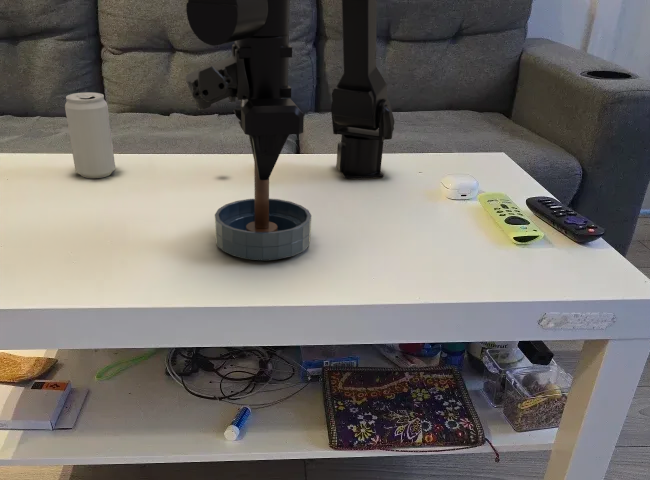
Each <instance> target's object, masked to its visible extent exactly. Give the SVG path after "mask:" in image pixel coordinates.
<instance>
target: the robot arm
mask: <svg viewBox="0 0 650 480" xmlns="http://www.w3.org/2000/svg"><path fill="white" fill-rule="evenodd" d="M377 1H378V0H341V17H342V18H341V21H342V54H343V55H342V57H343V59H342V61H343V73H342V76H341V77H340V79H339V80H338V83H337V84H336V86H335V88H334V89H333V90H332V92H331V106H330V109H331V110H330V112H331V124H332V134H333V135H335V136H337V135H340V136H341V137H340V142H338V143H337V148H336V149H337V151H336V166H335V168H336V169H337V170H338V172H339V173H340V174H341V176H342V177H343V179H345V180H357V179H358V180H360V179H380V178H381V179H382V178H384V176H385V174H384V173H383V172H382V171H381V169H382V161H383V151H384V141H388V140H392V139H393V133H394V131H395V123H396V122H395V117H394V114H393V110H392V106H391V103H390V100H389V99H388V85H387V83H386V80H385V79H384V77H383V75H382V74H381V72H380V71H379V68H378V67H377V18H378V17H377V16H378V15H377V10H378V9H377V7H378V6H377V5H378V4H377ZM290 4H291V0H187V3H186V8H185V9H186V17H187V22H188V24H189V27H190V28H191V31H192V32H193V34H194V35H195V36H196V37H197V39H198V40H200V41H201V42H202V43H204V44H205V45H209V46H213V47H214V46H221V45H225V44H230V43H232V42H233V43H234V44H232V45H231V56H229V57H227V58H224V59H221V60H218V61H215V62H213V63H209V64H208V65H206V66H203V67H199V68H198V69H196V70H194V71H191V72H190V73H187V74H186V75H185V79H186V83H187V86H188V88H189V91H190V94H191V96H192V98H193V101H194V103H195V106H196V108H197V110H198V111H202V110H206V109H208V108H210V107H211V105H213V104H216V103H217V102H220V101H222V100H225V99H227V98H228V99H229V102H230V103H236V102H237V101H236V99H237V100H238V101H239V102H240V104H239V105H240V108H234V109H233V113H234V115H235V117H236V118H237V119H238V120H239V121H238V124H239V126H240V129H241V130H242V131H243V132H244V135H246V136H248V138H249V142H250V147H251V153H252V157H253V158H254V153H255V159H256V164H257V170H258V175H259V179H260V180H268V179H269V180H270V177H271V175H272V172H273V170H274V168H275V167H276V166H275V165H276V163H277V161H278V159H279V157H280V155H281V153H282V150H283V149H284V146H285V144H286V142H287V140H288V138H289V136H290V135H301V134H303V133H304V124H305V123H304V122H305V114H304V112H303V111H302V110H301V109H300V107H298V105H296V103H295V102H294V101H293V100H292V99H291V98H292V87H291V86H290V85H289V61H290V60H289V59H290V58H293V46H292V45H291V44H290V13H291V11H290V8H291V7H290V6H291V5H290Z"/></svg>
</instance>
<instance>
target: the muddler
mask: <svg viewBox="0 0 650 480" xmlns="http://www.w3.org/2000/svg"><path fill="white" fill-rule="evenodd" d="M253 162H254V163H253V165H254V167H253V168H254V169H253V171H254V172H253V173H254V175H253V176H254V179H253V180H254V181H253V182H254V184H253V186H254V187H253V188H254V189H253V190H254V191H253V192H254V199H255V221H253V222H250V223H248V224H247V225H246V231H252V232H276V231H277V225H276V224H275V223H273V222H270V221H269V199H270V178H269V179H268V180H260V179H259V175H258V170H257V164H256V159H255V153H254V157H253Z"/></svg>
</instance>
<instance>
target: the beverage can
mask: <svg viewBox="0 0 650 480" xmlns="http://www.w3.org/2000/svg"><path fill="white" fill-rule="evenodd" d="M104 95H105V94H103V93H100V92H86V91H85V92H75V93H70V94H68V95H66V96H65V100H66V102H65V104H64V109H65V116H66V121H67V128H68V134H69V141H70V148H71V153H72V158H73V165H74V170H75V172H76V174H78V175H80V176H81V177H83V178H86V179H102V178H106V177H109V176H110V175H112V173H113V172H115V170H116V161H115V154H114V153H115V152H114V145H113V138H112V130H111V122H110V116H109V115H110V114H109V113H110V112H109V108H108V107H109V106H108V102H107V101H106V100H105V96H104Z"/></svg>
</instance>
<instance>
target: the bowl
mask: <svg viewBox="0 0 650 480" xmlns="http://www.w3.org/2000/svg"><path fill="white" fill-rule="evenodd" d="M253 221H255V198H246V199H240V200H235V201H232V202H229V203H226V204H224V205H222V206H221V207H219V208H218V209H217V210H216V212H215V213H214V233H215V242H216V246H217V247H218V248H219V249H220V250H221V251H223V252H224V253H227V254H229V255H231V256H233V257H236V258H237V257H238V258H241V259H245V260H250V261H261V262H262V261H263V262H264V261H265V262H266V261H276V260H282V259H286V258H290V257H294V256H297V255H298V254H301V253H302V252H304V251H305V250H306V249H307V248H309V246H310V243H311V235H312V234H311V233H312V232H311V230H312V214H311V212H310V210H309V209H307V208H306V207H305V206H303V205H301V204H299V203H297V202H296V203H295V202H294V201H291V200H290V201H289V200H285V199H280V198H269V221H270V222H273V223H275V224H276V225H277V231H276V232H252V231H246V225H247V224H248V223H250V222H253Z"/></svg>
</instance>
